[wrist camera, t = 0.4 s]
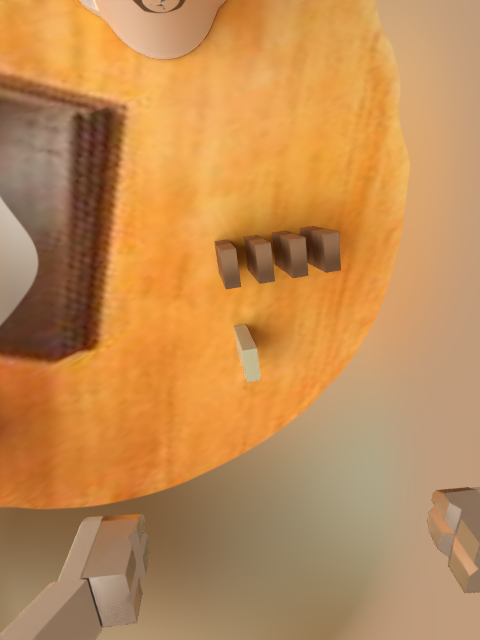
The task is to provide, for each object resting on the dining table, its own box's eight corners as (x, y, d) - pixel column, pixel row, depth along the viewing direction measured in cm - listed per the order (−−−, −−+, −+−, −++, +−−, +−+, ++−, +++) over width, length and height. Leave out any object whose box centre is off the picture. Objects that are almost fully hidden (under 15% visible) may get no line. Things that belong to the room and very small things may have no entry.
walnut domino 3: (272, 232, 53) (290, 239, 44) (285, 230, 54) (305, 237, 44) (275, 264, 55) (293, 278, 46) (287, 262, 55) (308, 275, 46)
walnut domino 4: (300, 228, 54) (324, 234, 44) (313, 226, 54) (339, 231, 45) (303, 260, 56) (326, 272, 46) (315, 258, 56) (340, 270, 46)
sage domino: (233, 326, 57) (242, 350, 48) (245, 324, 58) (256, 348, 48) (237, 353, 59) (247, 382, 50) (249, 351, 59) (260, 379, 50)
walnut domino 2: (243, 237, 53) (255, 245, 44) (256, 235, 53) (270, 242, 44) (247, 269, 55) (259, 283, 45) (260, 267, 55) (274, 281, 46)
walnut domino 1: (214, 241, 53) (220, 250, 43) (227, 239, 53) (235, 248, 43) (219, 274, 54) (225, 289, 45) (232, 271, 55) (241, 286, 45)
